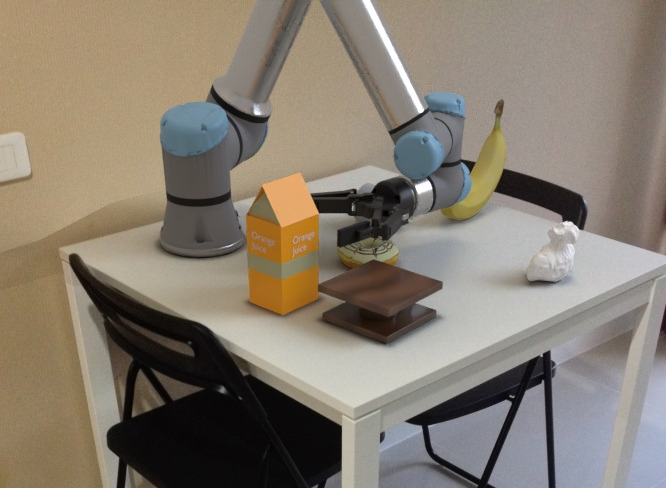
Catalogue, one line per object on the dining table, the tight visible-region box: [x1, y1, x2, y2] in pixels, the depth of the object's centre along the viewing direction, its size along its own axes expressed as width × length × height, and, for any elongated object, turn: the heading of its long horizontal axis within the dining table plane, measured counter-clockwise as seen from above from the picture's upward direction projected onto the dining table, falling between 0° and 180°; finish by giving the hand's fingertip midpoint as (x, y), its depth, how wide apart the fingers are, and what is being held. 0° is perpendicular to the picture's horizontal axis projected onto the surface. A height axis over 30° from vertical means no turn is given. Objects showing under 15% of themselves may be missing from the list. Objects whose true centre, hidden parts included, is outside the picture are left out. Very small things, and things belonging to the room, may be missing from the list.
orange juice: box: [245, 171, 320, 316], centre depth 155 cm, size 8×9×20 cm
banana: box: [440, 99, 507, 221], centre depth 191 cm, size 23×6×20 cm, turn 146°
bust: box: [526, 220, 580, 283], centre depth 168 cm, size 12×8×11 cm
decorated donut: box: [337, 236, 400, 269], centre depth 174 cm, size 10×11×4 cm
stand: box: [318, 259, 444, 345], centre depth 154 cm, size 14×14×6 cm
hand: (309, 227), depth 158 cm, fingers open, 13 cm apart
